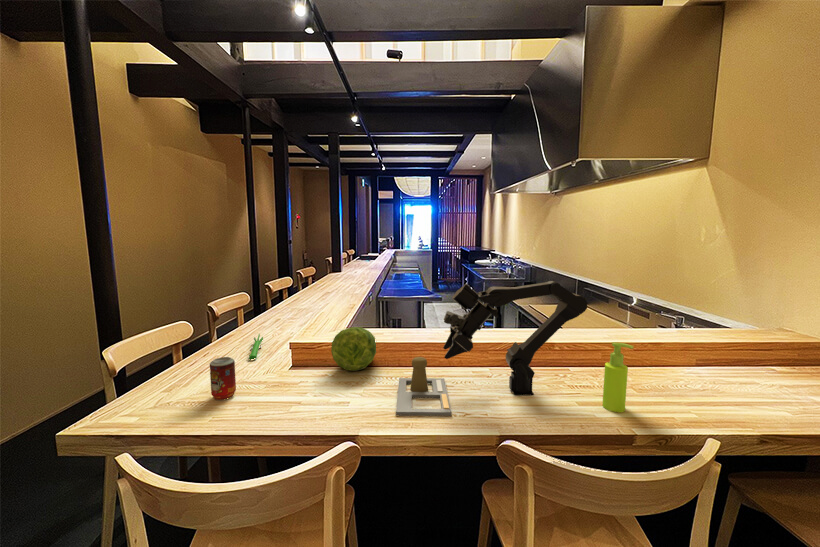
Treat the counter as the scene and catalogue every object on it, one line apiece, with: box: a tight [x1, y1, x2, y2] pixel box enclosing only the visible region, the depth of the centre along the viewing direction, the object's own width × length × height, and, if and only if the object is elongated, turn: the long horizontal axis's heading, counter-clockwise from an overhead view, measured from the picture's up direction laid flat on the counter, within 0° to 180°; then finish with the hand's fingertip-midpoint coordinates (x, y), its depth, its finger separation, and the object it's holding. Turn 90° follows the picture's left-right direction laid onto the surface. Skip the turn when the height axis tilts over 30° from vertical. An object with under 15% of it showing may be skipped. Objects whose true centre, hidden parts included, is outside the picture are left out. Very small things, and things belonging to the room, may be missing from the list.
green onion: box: [248, 333, 264, 360], centre depth 159 cm, size 5×3×30 cm
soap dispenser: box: [601, 342, 635, 413], centre depth 104 cm, size 6×7×20 cm
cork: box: [410, 356, 429, 392], centre depth 117 cm, size 6×6×11 cm
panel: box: [395, 377, 452, 417], centre depth 112 cm, size 16×24×2 cm, turn 179°
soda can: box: [209, 356, 237, 401], centre depth 112 cm, size 7×7×12 cm
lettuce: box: [330, 326, 377, 372], centre depth 140 cm, size 17×23×16 cm
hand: (444, 353), depth 117 cm, fingers open, 9 cm apart
